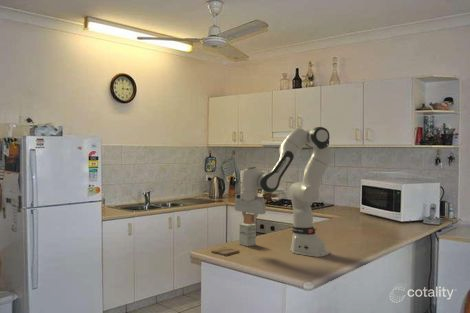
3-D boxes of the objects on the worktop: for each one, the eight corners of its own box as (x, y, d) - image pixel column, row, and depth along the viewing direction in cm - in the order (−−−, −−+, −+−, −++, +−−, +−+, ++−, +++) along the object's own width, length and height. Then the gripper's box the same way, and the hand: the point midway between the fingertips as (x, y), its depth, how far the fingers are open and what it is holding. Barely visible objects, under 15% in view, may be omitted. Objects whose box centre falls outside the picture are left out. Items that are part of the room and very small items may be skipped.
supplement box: (238, 244, 248) (239, 223, 248) (247, 242, 253) (248, 222, 253) (246, 246, 243) (247, 225, 243) (256, 244, 248) (256, 224, 247)
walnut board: (239, 252, 229) (239, 250, 229) (225, 256, 221) (225, 254, 221) (224, 248, 237) (224, 247, 237) (211, 252, 228) (211, 250, 228)
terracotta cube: (256, 223, 230) (256, 214, 230) (250, 224, 227) (250, 215, 226) (249, 222, 234) (249, 213, 233) (243, 223, 230) (243, 214, 230)
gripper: (268, 196, 225) (268, 221, 226) (240, 194, 239) (240, 217, 239) (261, 198, 220) (261, 223, 221) (232, 195, 234) (232, 219, 234)
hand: (249, 220), depth 230 cm, fingers closed on terracotta cube, 5 cm apart
